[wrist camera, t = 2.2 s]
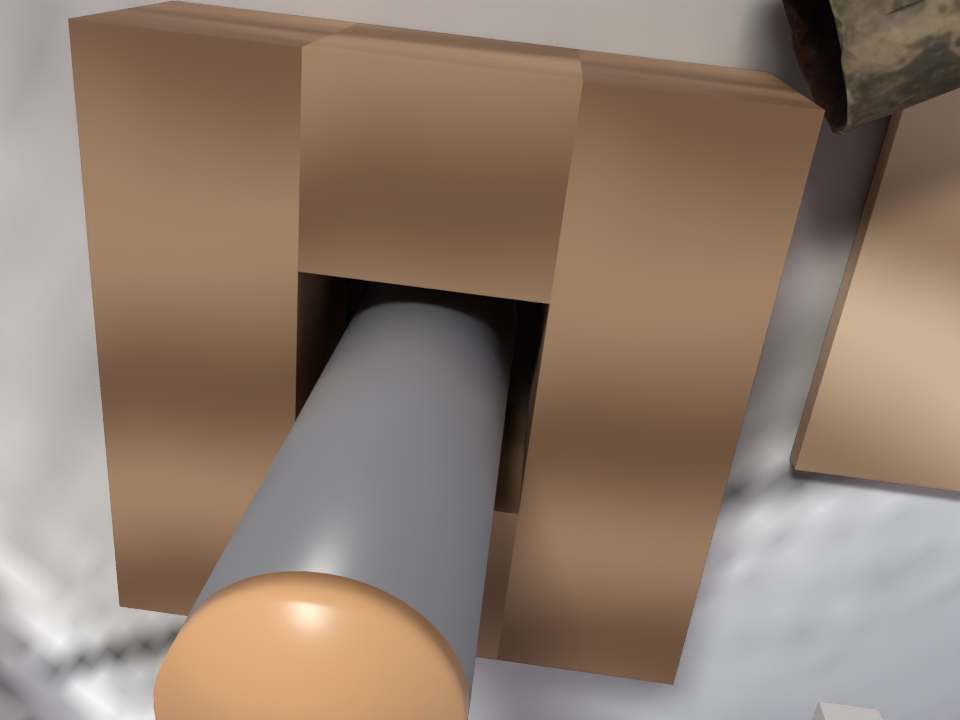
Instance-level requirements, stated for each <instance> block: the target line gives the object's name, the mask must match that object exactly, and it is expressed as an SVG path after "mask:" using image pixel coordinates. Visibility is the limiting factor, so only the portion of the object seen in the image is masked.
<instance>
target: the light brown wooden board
mask: <svg viewBox="0 0 960 720" xmlns="http://www.w3.org/2000/svg"><path fill="white" fill-rule="evenodd" d="M790 460H791V462H792V464H793V467H794V469H795V470H802V471H809V472H817V473H824V474H832V475H839V476H847V477H854V478H862V479H869V480H877V481H884V482H892V483H899V484H907V485H914V486H922V487H929V488H937V489H944V490H952V491H959V492H960V88H958V89H955V90H953V91H950V92H948V93H945V94H942V95H940V96H937V97H935V98H932V99H929V100H927V101H924V102H922V103H919V104H916V105H914V106H911V107H909V108H906V109H904V110H901V111H898V112H896V113H893V114H892V115H891V119H890V122H889V125H888V129H887V132H886V136H885V139H884V142H883V146H882V149H881V152H880V156H879V159H878V162H877V166H876V169H875V173H874V176H873V179H872V183H871V186H870V189H869V193H868V196H867V200H866V203H865V206H864V210H863V213H862V216H861V220H860V223H859V227H858V230H857V233H856V237H855V240H854V243H853V247H852V250H851V253H850V257H849V260H848V264H847V267H846V270H845V274H844V277H843V280H842V284H841V287H840V291H839V294H838V297H837V301H836V304H835V307H834V311H833V314H832V317H831V321H830V324H829V328H828V331H827V334H826V338H825V341H824V344H823V348H822V351H821V355H820V358H819V361H818V365H817V368H816V371H815V375H814V378H813V382H812V385H811V388H810V392H809V395H808V398H807V402H806V405H805V408H804V412H803V415H802V419H801V422H800V425H799V429H798V432H797V435H796V439H795V442H794V446H793V449H792V452H791V456H790Z"/></svg>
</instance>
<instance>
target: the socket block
mask: <svg viewBox="0 0 960 720" xmlns="http://www.w3.org/2000/svg"><path fill="white" fill-rule="evenodd" d="M68 21H69V33H70V44H71V56H72V67H73V78H74V90H75V101H76V113H77V124H78V136H79V147H80V158H81V170H82V181H83V193H84V204H85V216H86V227H87V239H88V250H89V261H90V273H91V284H92V296H93V307H94V319H95V330H96V341H97V353H98V364H99V376H100V387H101V399H102V410H103V421H104V433H105V444H106V456H107V467H108V479H109V490H110V502H111V513H112V524H113V536H114V547H115V559H116V570H117V582H118V593H119V604H120V606H121V607H128V608H135V609H142V610H149V611H156V612H163V613H170V614H178V615H185V616H188V615H189V613H190V611H191V610H192V608H193V606H194V604H195V602H196V601H197V599H198V597H199V595H200V593H201V592H202V590H203V588H204V586H205V584H206V582H207V581H208V579H209V577H210V575H211V573H212V572H213V570H214V568H215V566H216V564H217V563H218V561H219V559H220V557H221V555H222V553H223V552H224V550H225V548H226V546H227V544H228V543H229V541H230V539H231V537H232V535H233V534H234V532H235V530H236V528H237V526H238V524H239V523H240V521H241V519H242V517H243V515H244V514H245V512H246V510H247V508H248V506H249V505H250V503H251V501H252V499H253V497H254V495H255V494H256V492H257V490H258V488H259V486H260V485H261V483H262V481H263V479H264V477H265V476H266V474H267V472H268V470H269V468H270V466H271V465H272V463H273V461H274V459H275V457H276V456H277V454H278V452H279V450H280V448H281V447H282V445H283V443H284V441H285V439H286V437H287V436H288V434H289V432H290V430H291V428H292V427H293V425H294V423H295V421H296V419H297V418H298V416H299V414H300V412H301V410H302V408H303V407H304V405H305V403H306V401H307V399H308V398H309V396H310V394H311V392H312V390H313V389H314V387H315V385H316V383H317V381H318V379H319V378H320V376H321V374H322V372H323V370H324V369H325V367H326V365H327V363H328V361H329V359H330V358H331V356H332V354H333V352H334V350H335V349H336V347H337V345H338V343H339V341H340V340H341V338H342V336H343V334H344V332H345V309H346V286H347V278H353V279H360V280H368V281H376V282H384V283H391V284H399V285H407V286H415V287H422V288H430V289H438V290H446V291H453V292H461V293H469V294H477V295H484V296H492V297H500V298H508V299H515V300H523V301H531V302H539V303H542V308H541V315H540V322H539V329H538V336H537V343H536V350H535V357H534V364H533V370H532V377H531V384H530V391H529V398H528V405H527V410H521V409H513V408H506V413H505V421H504V429H503V438H502V446H501V454H500V462H499V470H498V478H497V486H496V495H495V503H494V511H493V519H492V527H491V535H490V544H489V552H488V560H487V568H486V576H485V584H484V592H483V601H482V609H481V617H480V625H479V633H478V641H477V650H476V657H482V658H489V659H496V660H503V661H510V662H517V663H524V664H531V665H538V666H545V667H552V668H560V669H567V670H574V671H581V672H588V673H595V674H602V675H609V676H616V677H623V678H630V679H637V680H644V681H651V682H659V683H666V684H673V683H674V680H675V676H676V672H677V668H678V665H679V661H680V657H681V653H682V649H683V646H684V642H685V638H686V634H687V631H688V627H689V623H690V619H691V616H692V612H693V608H694V604H695V600H696V597H697V593H698V589H699V585H700V582H701V578H702V574H703V570H704V566H705V563H706V559H707V555H708V551H709V548H710V544H711V540H712V536H713V532H714V529H715V525H716V521H717V517H718V514H719V510H720V506H721V502H722V499H723V495H724V491H725V487H726V483H727V480H728V476H729V472H730V468H731V465H732V461H733V457H734V453H735V449H736V446H737V442H738V438H739V434H740V431H741V427H742V423H743V419H744V415H745V412H746V408H747V404H748V400H749V397H750V393H751V389H752V385H753V382H754V378H755V374H756V370H757V366H758V363H759V359H760V355H761V351H762V348H763V344H764V340H765V336H766V332H767V329H768V325H769V321H770V317H771V314H772V310H773V306H774V302H775V298H776V295H777V291H778V287H779V283H780V280H781V276H782V272H783V268H784V265H785V261H786V257H787V253H788V249H789V246H790V242H791V238H792V234H793V231H794V227H795V223H796V219H797V215H798V212H799V208H800V204H801V200H802V197H803V193H804V189H805V185H806V181H807V178H808V174H809V170H810V166H811V163H812V159H813V155H814V151H815V148H816V144H817V140H818V136H819V132H820V129H821V125H822V121H823V117H824V114H825V110H824V109H823V108H821V107H820V106H818V105H817V104H815V103H814V102H812V101H811V100H809V99H808V98H806V97H805V96H803V95H802V94H800V93H799V92H797V91H796V90H794V89H793V88H791V87H790V86H788V85H787V84H785V83H784V82H782V81H781V80H779V79H778V78H776V77H775V76H774V75H772V74H771V73H769V72H762V71H754V70H745V69H737V68H729V67H720V66H712V65H704V64H695V63H687V62H679V61H670V60H662V59H654V58H645V57H637V56H629V55H620V54H612V53H604V52H595V51H587V50H579V49H570V48H562V47H554V46H545V45H537V44H529V43H520V42H512V41H504V40H495V39H487V38H479V37H470V36H462V35H454V34H445V33H437V32H429V31H420V30H412V29H404V28H395V27H387V26H379V25H370V24H362V23H354V22H345V21H337V20H329V19H320V18H312V17H304V16H295V15H287V14H279V13H270V12H262V11H254V10H245V9H237V8H229V7H220V6H212V5H204V4H195V3H187V2H179V1H170V2H164V3H158V4H152V5H146V6H140V7H134V8H128V9H122V10H117V11H111V12H105V13H99V14H93V15H87V16H81V17H75V18H70V19H68Z"/></svg>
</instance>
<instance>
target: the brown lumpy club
mask: <svg viewBox="0 0 960 720" xmlns="http://www.w3.org/2000/svg"><path fill="white" fill-rule="evenodd" d="M782 1H783V4H784V8H785V11H786V15H787V19H788V23H789V26H790V30H791V35H792V42H793V48H794V51H795V54H796V57H797V59H798V62H799V65H800V68H801V71H802V73H803V75H804V77H805V78H806V80H807V82H808V84H809V86H810V89H811V92H812V95H813V97H814V100H815V102H816V103H817V105H818V106H820V107H821V108H823V109H824V110H825V114H824V116H825V117H826V119H827V121H828V123H829V125H830V127H831V129H832V132H833V133H838V134H842V135H846V134H847V133H849V132H850V131H851V130H852V129H855V128H857V127H860V126H863V125H865V124H868V123H870V122H873V121H875V120H878V119H880V118H883V117H886V116H888V115H891V114H893V113H896V112H898V111H901V110H904V109H906V108H909V107H911V106H914V105H916V104H919V103H922V102H924V101H927V100H929V99H932V98H935V97H937V96H940V95H942V94H945V93H948V92H950V91H953V90H955V89H958V88H960V0H782Z"/></svg>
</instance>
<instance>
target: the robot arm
mask: <svg viewBox="0 0 960 720" xmlns="http://www.w3.org/2000/svg"><path fill="white" fill-rule="evenodd" d="M813 720H883V718H882V716H881V714H880V711H879V710H876V709H868V708H861V707H854V706H847V705H840V704H832V703H825V702H819V703H818V706H817V709H816V712H815V715H814V718H813Z"/></svg>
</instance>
